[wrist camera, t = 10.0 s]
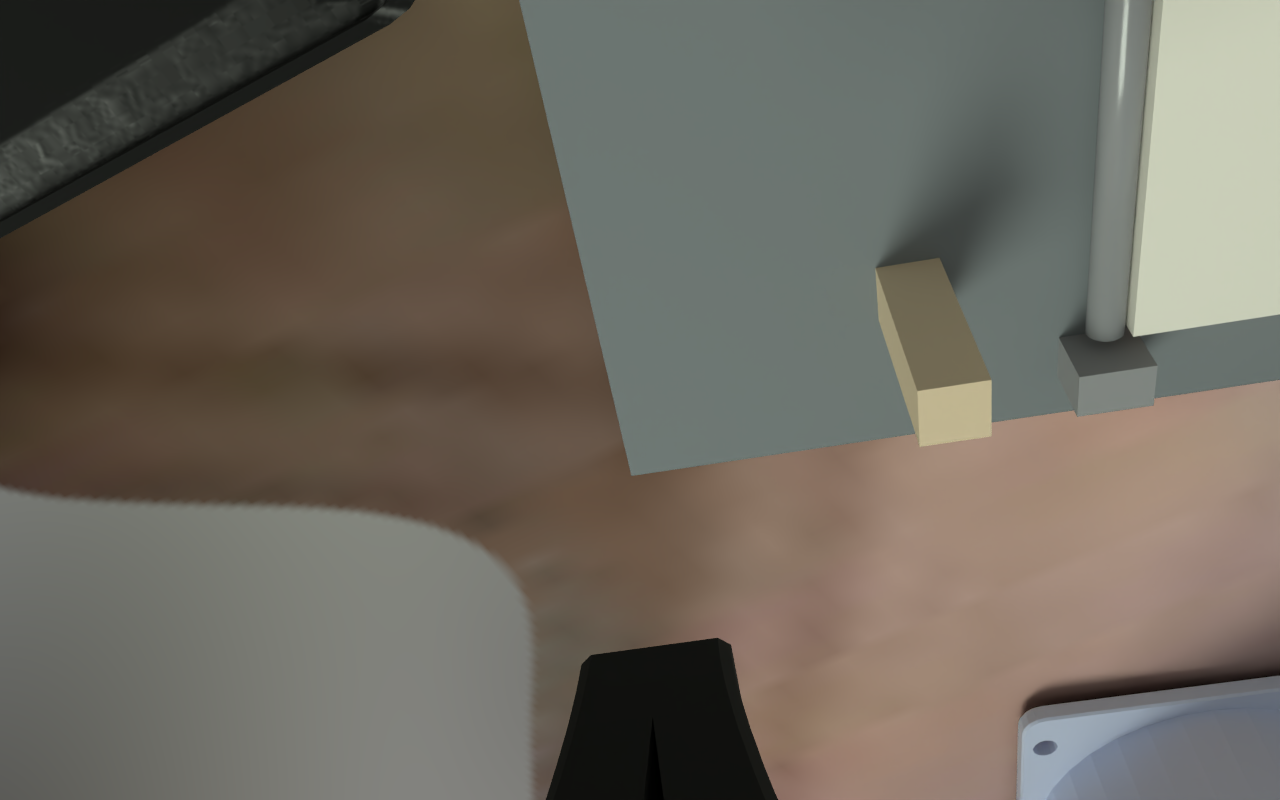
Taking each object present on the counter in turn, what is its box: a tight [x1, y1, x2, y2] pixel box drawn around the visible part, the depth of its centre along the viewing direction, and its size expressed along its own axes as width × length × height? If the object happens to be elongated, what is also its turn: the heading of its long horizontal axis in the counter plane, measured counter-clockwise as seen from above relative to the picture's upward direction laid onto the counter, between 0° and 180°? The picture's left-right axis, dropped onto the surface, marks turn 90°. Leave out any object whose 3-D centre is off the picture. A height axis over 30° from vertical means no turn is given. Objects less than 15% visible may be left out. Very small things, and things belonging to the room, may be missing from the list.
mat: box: [519, 0, 1280, 476], centre depth 15 cm, size 15×16×4 cm
